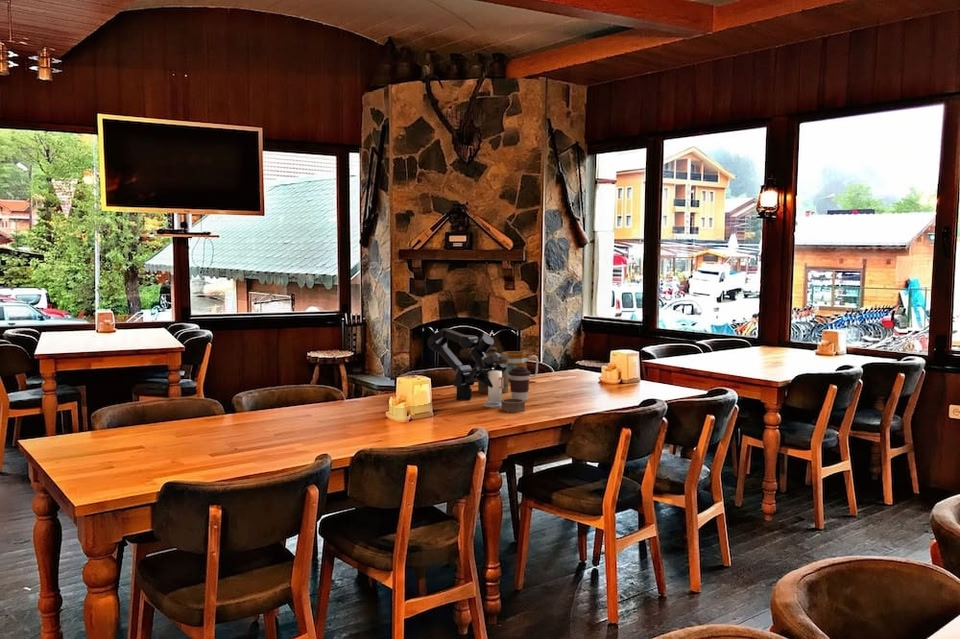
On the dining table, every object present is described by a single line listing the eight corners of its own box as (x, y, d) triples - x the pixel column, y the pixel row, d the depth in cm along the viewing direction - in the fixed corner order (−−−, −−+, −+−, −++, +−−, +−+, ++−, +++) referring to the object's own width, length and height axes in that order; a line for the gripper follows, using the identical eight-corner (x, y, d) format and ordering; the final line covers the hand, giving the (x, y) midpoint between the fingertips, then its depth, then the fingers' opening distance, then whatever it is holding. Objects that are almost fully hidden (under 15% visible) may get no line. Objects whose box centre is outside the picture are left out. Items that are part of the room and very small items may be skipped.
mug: (499, 382, 402) (499, 354, 400) (503, 378, 415) (503, 350, 414) (537, 383, 398) (537, 355, 397) (539, 379, 412) (539, 351, 410)
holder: (496, 409, 331) (496, 400, 331) (513, 406, 338) (513, 397, 338) (512, 413, 324) (512, 403, 323) (529, 410, 330) (529, 400, 330)
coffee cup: (530, 398, 357) (530, 366, 356) (529, 402, 348) (530, 369, 346) (509, 397, 358) (509, 366, 357) (508, 401, 348) (508, 369, 347)
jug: (485, 400, 339) (485, 371, 338) (495, 398, 343) (495, 370, 342) (497, 403, 334) (497, 373, 332) (507, 401, 338) (507, 372, 336)
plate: (483, 407, 335) (483, 405, 335) (484, 403, 345) (484, 401, 345) (506, 408, 334) (506, 406, 334) (506, 403, 344) (506, 401, 344)
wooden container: (489, 387, 386) (489, 344, 384) (514, 390, 377) (514, 346, 375) (472, 392, 374) (472, 347, 372) (497, 395, 365) (497, 349, 363)
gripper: (473, 349, 334) (490, 377, 327) (504, 345, 346) (521, 373, 339) (461, 365, 340) (478, 393, 333) (492, 361, 353) (508, 388, 346)
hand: (497, 386), depth 338 cm, fingers closed on jug, 6 cm apart
